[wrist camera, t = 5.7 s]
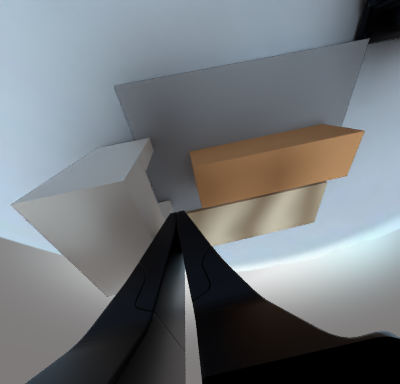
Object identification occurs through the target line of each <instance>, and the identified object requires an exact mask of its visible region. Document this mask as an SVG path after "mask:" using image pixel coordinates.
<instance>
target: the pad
mask: <svg viewBox="0 0 400 384" xmlns="http://www.w3.org/2000/svg"><path fill="white" fill-rule="evenodd" d="M326 185H327V182H326V181H322V182H318V183H313V184H309V185H304V186H300V187H296V188H291V189H287V190H282V191H278V192H273V193H269V194H265V195H260V196H256V197H251V198H247V199H242V200H238V201H234V202H229V203H225V204H220V205H216V206H211V207H207V208H201V209H196V210H192V211H188V212H186V213H187V214H188V216H189V217H190V218H191V220H192V221H193V222H194V223H195V225H196V226H197V227H198V229H199V230H200V231H201V233H202V234H203V235H204V236H205V238H206V239H207V240H208V242H209V243H210V244H211V246H216V245H221V244H225V243H229V242H233V241H238V240H242V239H246V238H250V237H254V236H259V235H263V234H267V233H271V232H275V231H280V230H284V229H288V228H292V227H297V226H301V225H305V224H309V223H313V222H314V221H315V218H316V215H317V212H318V209H319V206H320V203H321V200H322V197H323V194H324V191H325V188H326Z"/></svg>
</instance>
